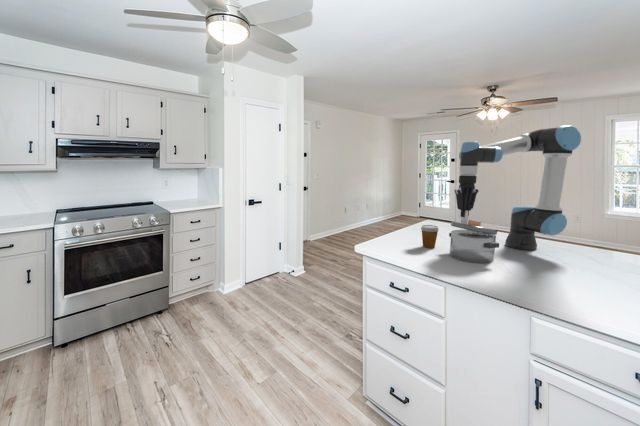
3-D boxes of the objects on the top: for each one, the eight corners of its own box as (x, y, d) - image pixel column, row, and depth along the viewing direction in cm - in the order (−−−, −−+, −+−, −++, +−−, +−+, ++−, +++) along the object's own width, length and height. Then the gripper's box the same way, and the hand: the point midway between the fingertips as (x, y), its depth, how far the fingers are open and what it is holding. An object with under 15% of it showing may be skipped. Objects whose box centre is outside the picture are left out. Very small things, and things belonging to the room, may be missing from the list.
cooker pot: (468, 248, 168) (470, 227, 166) (510, 261, 144) (513, 237, 142) (437, 252, 160) (439, 230, 158) (476, 267, 137) (478, 241, 135)
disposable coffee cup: (435, 245, 174) (436, 224, 172) (439, 249, 165) (441, 228, 163) (418, 244, 175) (419, 224, 173) (422, 249, 166) (423, 228, 164)
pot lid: (471, 227, 163) (473, 219, 163) (506, 236, 144) (508, 227, 143) (441, 223, 156) (443, 215, 155) (474, 231, 136) (476, 222, 136)
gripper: (471, 174, 149) (468, 221, 153) (451, 174, 144) (447, 222, 148) (484, 175, 142) (480, 224, 146) (463, 175, 137) (459, 225, 141)
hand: (464, 223), depth 147 cm, fingers closed
